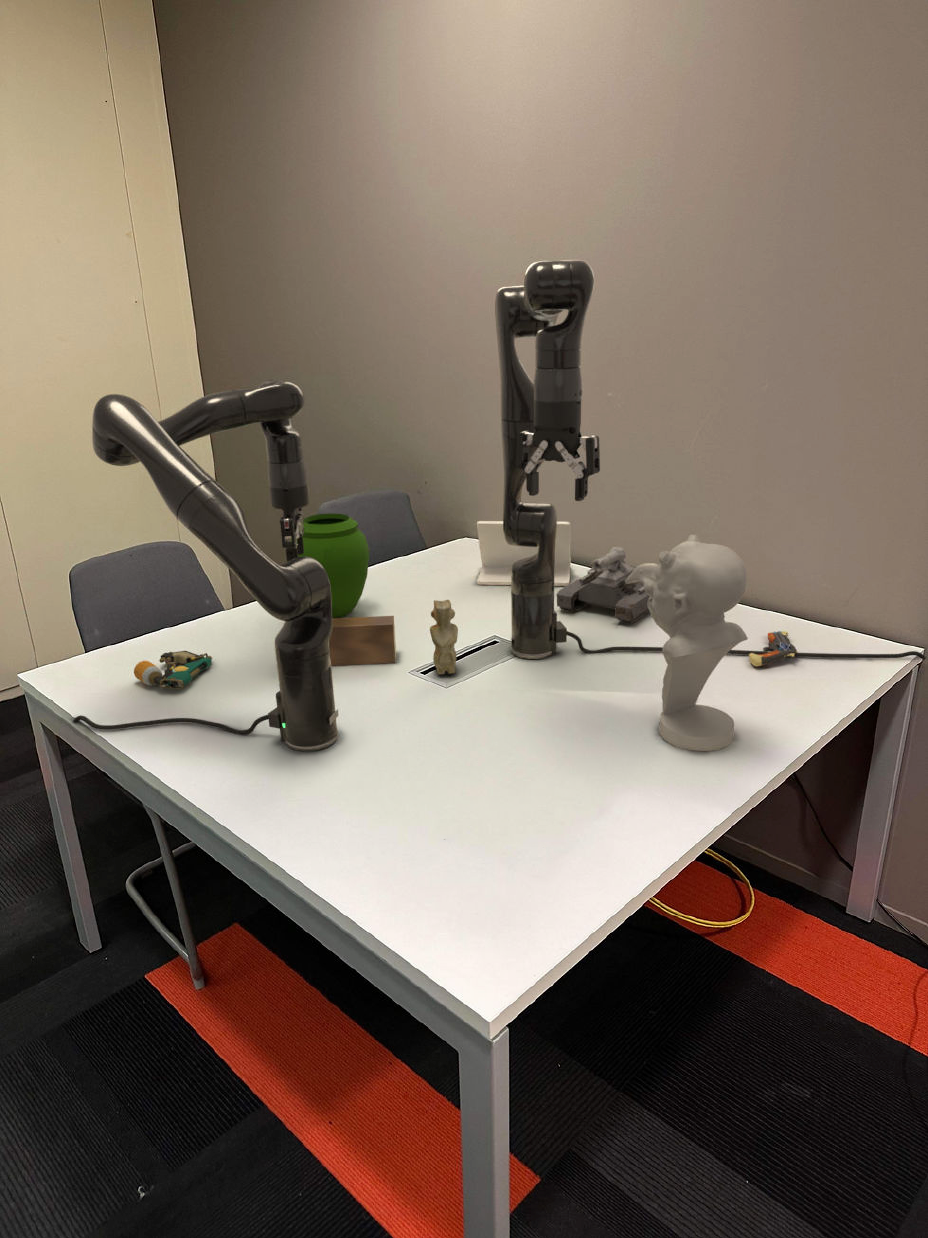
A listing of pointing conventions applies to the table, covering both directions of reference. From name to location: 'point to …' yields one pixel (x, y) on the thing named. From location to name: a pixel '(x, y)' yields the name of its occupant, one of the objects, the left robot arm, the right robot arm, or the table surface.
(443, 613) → the sculpture
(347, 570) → the vase
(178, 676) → the spray gun
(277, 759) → the table surface
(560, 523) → the tablet stand
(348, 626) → the bar
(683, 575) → the bust sculpture
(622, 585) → the toy
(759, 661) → the toy gun
